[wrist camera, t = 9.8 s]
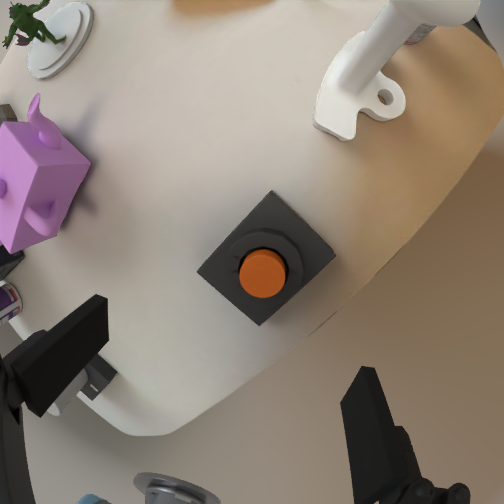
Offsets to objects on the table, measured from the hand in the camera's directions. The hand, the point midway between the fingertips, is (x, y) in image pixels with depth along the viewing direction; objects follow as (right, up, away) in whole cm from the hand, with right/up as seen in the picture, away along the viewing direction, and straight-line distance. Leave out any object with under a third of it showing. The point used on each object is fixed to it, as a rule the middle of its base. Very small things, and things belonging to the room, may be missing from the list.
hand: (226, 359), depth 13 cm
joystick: (+12, +20, +9) cm, 25 cm away
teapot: (-22, +14, +15) cm, 30 cm away
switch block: (+3, +5, +14) cm, 15 cm away
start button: (+2, +4, +11) cm, 12 cm away
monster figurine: (-24, +33, +9) cm, 42 cm away
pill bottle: (-38, -2, +21) cm, 44 cm away
